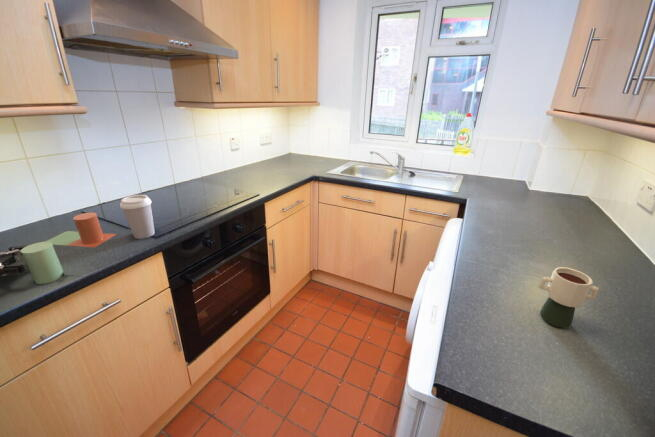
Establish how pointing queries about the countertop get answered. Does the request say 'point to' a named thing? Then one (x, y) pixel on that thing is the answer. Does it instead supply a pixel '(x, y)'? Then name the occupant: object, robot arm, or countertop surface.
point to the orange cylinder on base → (88, 228)
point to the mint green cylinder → (42, 262)
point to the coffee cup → (139, 215)
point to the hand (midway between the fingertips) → (35, 259)
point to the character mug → (565, 295)
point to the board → (75, 239)
